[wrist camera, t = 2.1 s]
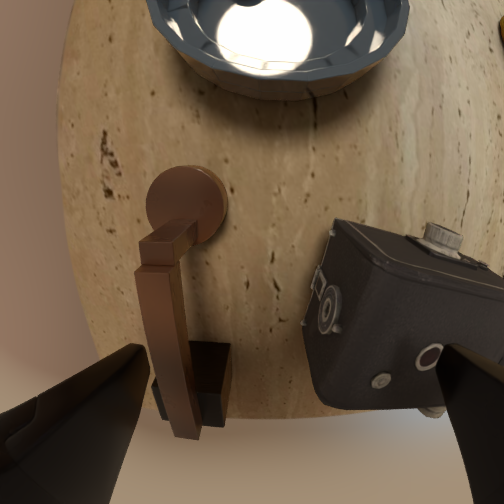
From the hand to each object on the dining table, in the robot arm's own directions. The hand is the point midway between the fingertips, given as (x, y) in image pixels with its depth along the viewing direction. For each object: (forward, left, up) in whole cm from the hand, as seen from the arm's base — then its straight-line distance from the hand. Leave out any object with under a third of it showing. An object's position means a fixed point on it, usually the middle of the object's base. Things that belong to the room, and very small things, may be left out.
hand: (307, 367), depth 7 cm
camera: (-3, -9, -14) cm, 16 cm away
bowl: (+17, 0, -13) cm, 21 cm away
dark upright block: (-11, +6, -13) cm, 18 cm away
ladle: (-4, +6, -13) cm, 15 cm away
